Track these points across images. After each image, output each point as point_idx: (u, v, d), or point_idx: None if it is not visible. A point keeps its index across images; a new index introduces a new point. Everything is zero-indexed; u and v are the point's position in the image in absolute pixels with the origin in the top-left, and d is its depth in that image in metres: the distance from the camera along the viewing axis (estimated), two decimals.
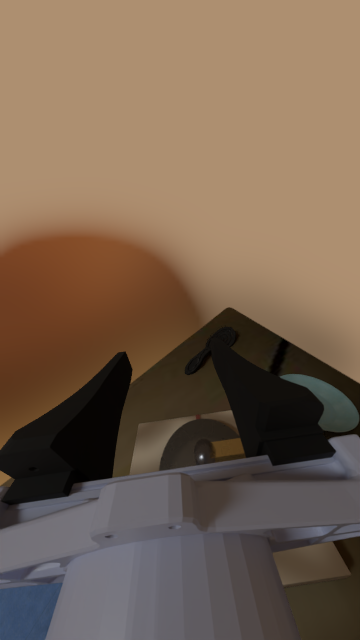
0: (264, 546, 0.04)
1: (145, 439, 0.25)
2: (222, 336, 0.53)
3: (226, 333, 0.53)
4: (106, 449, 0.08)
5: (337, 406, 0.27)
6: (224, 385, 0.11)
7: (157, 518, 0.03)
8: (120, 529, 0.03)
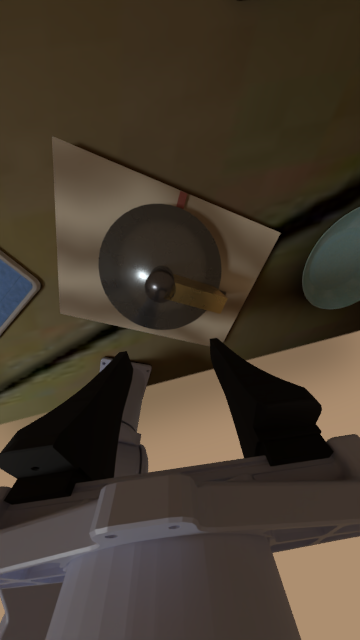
0: (264, 546, 0.04)
1: (75, 187, 0.13)
2: None
3: None
4: (108, 449, 0.08)
5: (354, 281, 0.20)
6: (223, 385, 0.11)
7: (157, 518, 0.03)
8: (120, 529, 0.03)
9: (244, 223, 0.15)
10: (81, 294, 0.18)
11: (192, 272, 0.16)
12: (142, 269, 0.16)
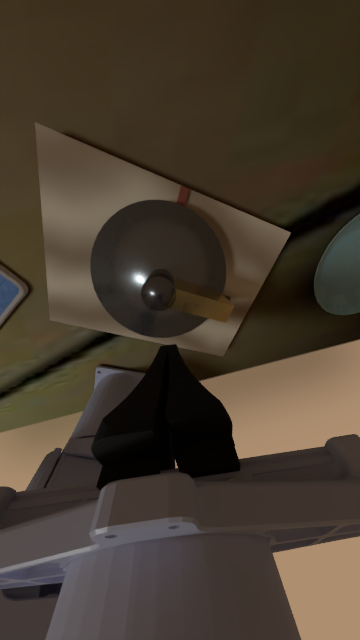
0: (264, 546, 0.04)
1: (63, 181, 0.12)
2: None
3: None
4: (170, 440, 0.08)
5: None
6: None
7: (157, 518, 0.03)
8: (120, 529, 0.03)
9: (251, 222, 0.14)
10: (73, 299, 0.16)
11: (194, 276, 0.15)
12: (139, 272, 0.14)
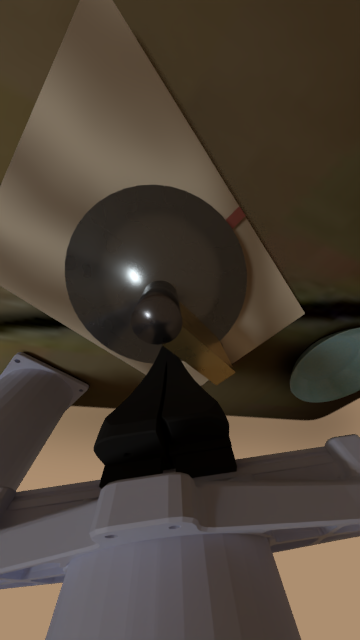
0: (264, 546, 0.04)
1: (93, 91, 0.07)
2: None
3: None
4: None
5: (327, 382, 0.21)
6: None
7: (157, 518, 0.03)
8: (120, 529, 0.03)
9: (280, 285, 0.13)
10: (23, 256, 0.10)
11: (201, 309, 0.12)
12: (140, 273, 0.10)
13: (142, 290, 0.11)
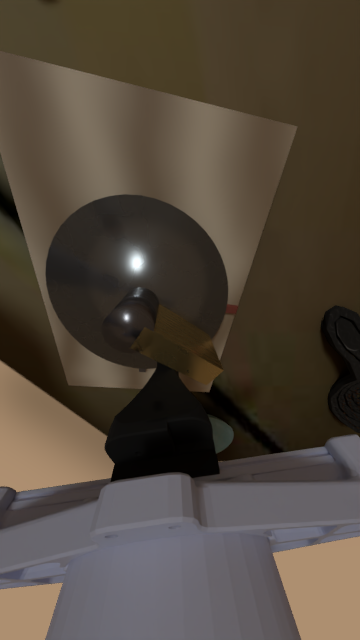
0: (264, 546, 0.04)
1: (240, 158, 0.09)
2: None
3: None
4: None
5: None
6: None
7: (157, 518, 0.03)
8: (120, 529, 0.03)
9: None
10: (58, 137, 0.08)
11: (185, 309, 0.12)
12: (116, 284, 0.10)
13: (122, 300, 0.11)
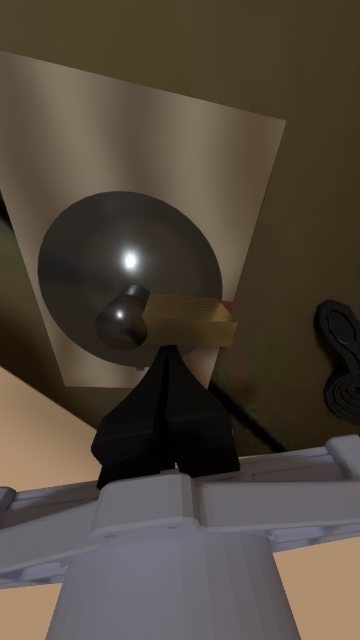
0: (264, 546, 0.04)
1: (230, 153, 0.09)
2: None
3: None
4: (170, 439, 0.08)
5: None
6: None
7: (157, 518, 0.03)
8: (120, 529, 0.03)
9: (210, 362, 0.16)
10: (47, 133, 0.08)
11: (177, 285, 0.11)
12: (105, 296, 0.11)
13: None
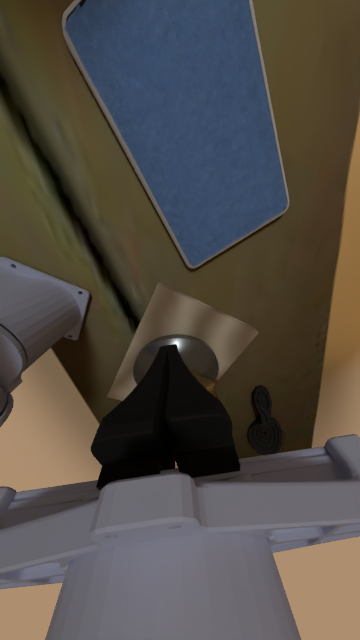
0: (264, 546, 0.04)
1: (237, 334, 0.22)
2: (267, 439, 0.38)
3: (266, 445, 0.38)
4: (170, 439, 0.08)
5: None
6: None
7: (157, 518, 0.03)
8: (120, 529, 0.03)
9: None
10: (173, 311, 0.19)
11: (198, 372, 0.23)
12: None
13: None
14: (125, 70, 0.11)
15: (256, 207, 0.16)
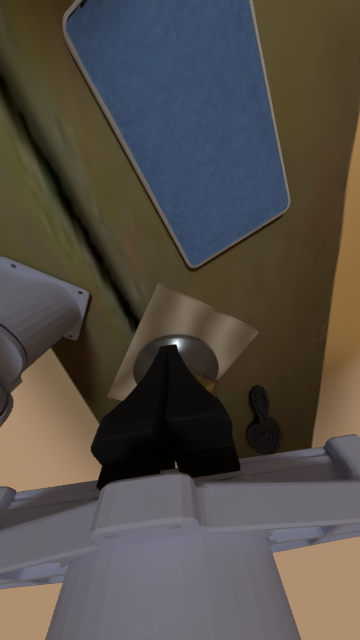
0: (264, 546, 0.04)
1: (237, 334, 0.22)
2: (266, 439, 0.38)
3: (265, 445, 0.38)
4: (170, 439, 0.08)
5: None
6: None
7: (157, 518, 0.03)
8: (120, 529, 0.03)
9: None
10: (173, 311, 0.19)
11: (198, 372, 0.23)
12: None
13: None
14: (125, 70, 0.11)
15: (257, 207, 0.16)
